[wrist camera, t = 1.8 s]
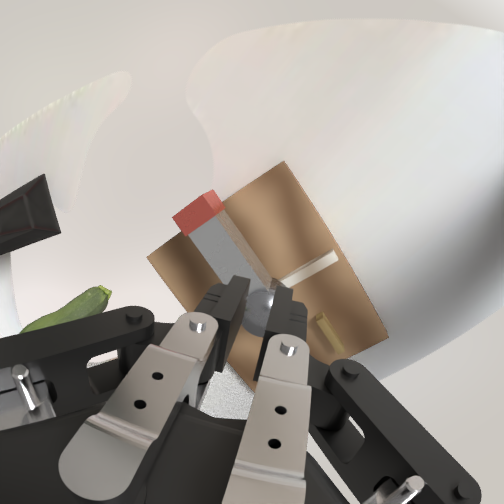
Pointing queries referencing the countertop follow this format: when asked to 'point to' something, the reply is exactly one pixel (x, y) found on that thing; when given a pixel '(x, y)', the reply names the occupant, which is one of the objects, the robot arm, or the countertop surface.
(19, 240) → the barrier
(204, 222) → the bar
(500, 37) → the countertop surface
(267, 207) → the door board
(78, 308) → the vegetable
